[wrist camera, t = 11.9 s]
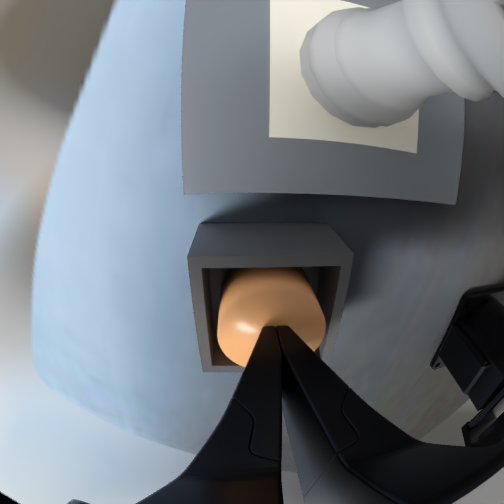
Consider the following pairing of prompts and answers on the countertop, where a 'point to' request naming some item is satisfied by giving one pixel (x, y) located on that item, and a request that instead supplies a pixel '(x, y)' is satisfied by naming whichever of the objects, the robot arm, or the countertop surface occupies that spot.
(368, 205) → the countertop surface
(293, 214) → the countertop surface
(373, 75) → the rook chess piece
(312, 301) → the button
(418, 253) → the countertop surface
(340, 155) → the slate board
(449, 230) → the countertop surface
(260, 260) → the button housing
